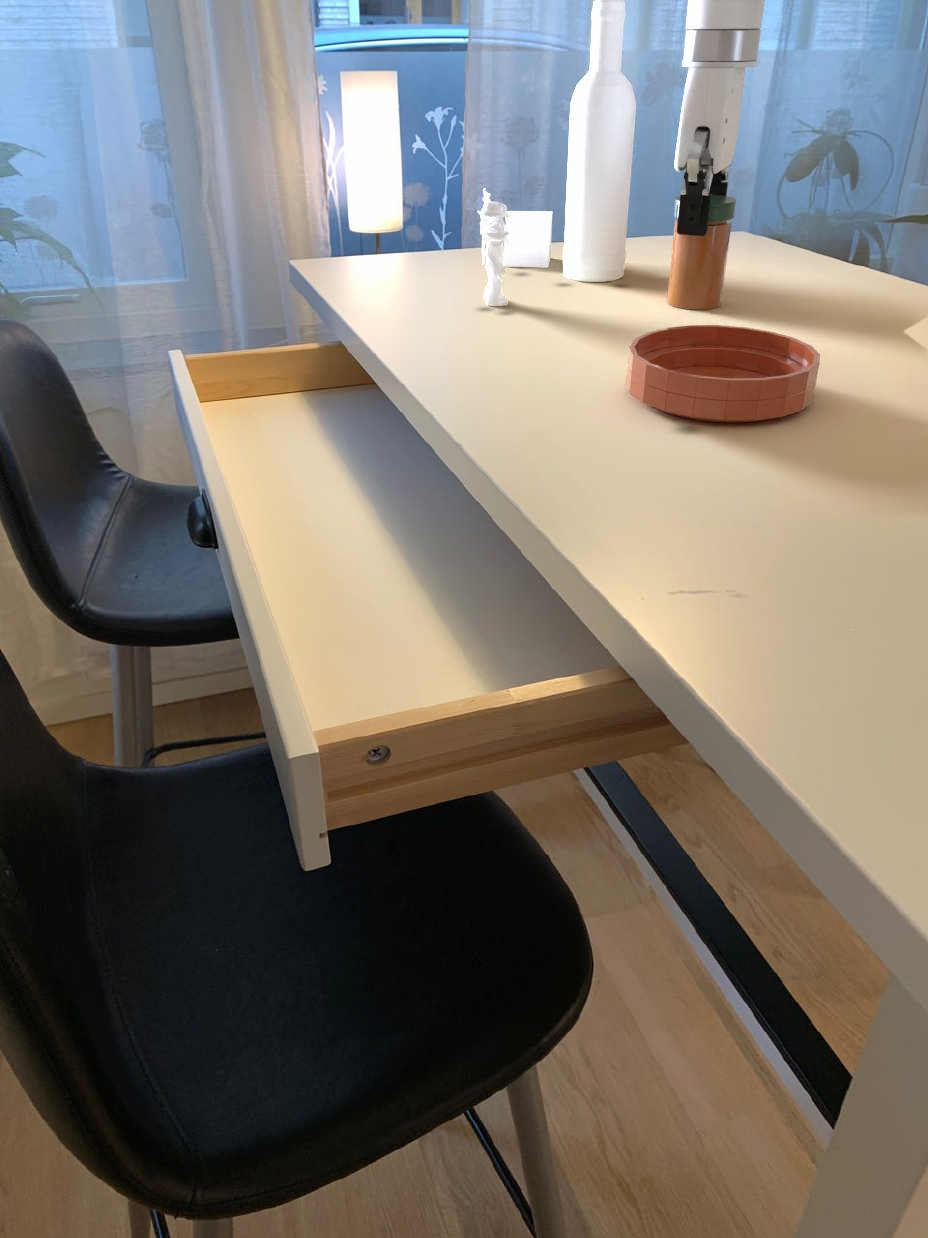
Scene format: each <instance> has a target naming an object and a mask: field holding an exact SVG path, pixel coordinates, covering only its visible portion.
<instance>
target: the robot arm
mask: <svg viewBox="0 0 928 1238" xmlns="http://www.w3.org/2000/svg"><path fill="white" fill-rule="evenodd" d="M765 2H766V0H688V2H687V10H686V11H687V13H686V21H685V23H686V24H685V32H684V42H683V53H682V62H681V67H684V68H688V72H687V76H686V82H685V86H684V92H683V98H682V104H681V105H682V106H681V111H680V118H679V126H678V134H677V141H676V148H675V155H674V163H673V165H674V166H673V167H674V169H675V171H676V172H677V173H682V172H684V171H685V172H684V174H683V180H682V184H681V189H680V203H679V213H678V223H677V233H678V234H680V235H694V236H704V235H706V234H707V230H708V221H709V213H710V204H711V195H722V196H728V195H727V193H728V186H729V182H728V177H729V165H731V164H732V162H733V160H734V157H735V152H736V146H737V140H738V135H739V134H738V133H739V127H740V118H741V111H742V103H743V92H744V88H745V87H744V86H745V85H744V83H745V74H746V68H756V67H757V63H758V56H759V49H760V48H759V47H760V40H761V32H762V25H763V18H764V10H765ZM708 194H710V195H708Z"/></svg>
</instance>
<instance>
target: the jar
mask: <svg viewBox="0 0 928 1238" xmlns="http://www.w3.org/2000/svg"><path fill="white" fill-rule="evenodd" d="M677 223H678V218H675V219H674V224H673V225H674V226H673V235H672V246H671V255H670V265H669V276H668V284H667V285H668V286H667V295H666V303H667V304H668V305H669V304H670V305H669V306H672V307H674V306H675V307H674V308H676V309H677V308H678V307H679V308H678V309H683V310H692V311H693V310H695V311H702V310H703V311H704V310H713V309H716V308H718V307H720V306H721V305H722V301H723V293H724V286H725V278H726V277H725V276H726V269H727V262H728V254H729V248H730V247H729V246H730V238H731V230H732V224H733V223H732V221H731V219H730V220H726V221H717V222H708V230H707V234H706V235H704V236H694V235H680V234H678V233H677ZM684 308H685V309H684Z"/></svg>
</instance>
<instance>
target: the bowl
mask: <svg viewBox="0 0 928 1238" xmlns="http://www.w3.org/2000/svg"><path fill="white" fill-rule="evenodd" d="M627 355H628V356H627V369H626V380H625V385H626V388H627V390H628V392H629V394H630V395H631V396H632V397H634V398H635V399H637V400H639V401H640V402H641V403H643V404H644V405H648V406H651V407H653V408H655V409H657V410H659V411H661V412H664V413H667V414H670V415H673V416H676V417H681V418H686V419H690V420H696V421H703V422H712V423H732V424H733V423H734V424H735V423H737V424H738V423H754V422H755V423H756V422H761V421H768V420H773V419H777V418H783V417H786V416H789V415H792V414H795V413H798V412H802V410H804V409H805V408H806V407H808V406H809V405H810V404H811V403H813V400H814V395H815V389H816V385H817V379H818V373H819V370H820V369H819V368H820V364H821V363H820V362H821V354H820V353H819V351H817V350H816V349H815V348H814V347H813V346H812V345H811V344H808V343H806V342H804V341H802V340H800V339H798V338H795V337H793V336H788V335H785V334H782V333H778V332H775V331H771V330H764V329H760V328H759V329H758V328H752V327H746V326H735V325H734V326H733V325H723V324H719V325H718V324H703V325H702V324H695V325H693V324H691V325H682V326H681V325H680V326H672V327H664V328H660V329H657V330H652V331H648V332H644V334H641V335H640V336H637V337H635V338H634V339H633V340H632V342H631V343H630V345H629V346H628V353H627Z"/></svg>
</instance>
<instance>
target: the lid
mask: <svg viewBox="0 0 928 1238" xmlns="http://www.w3.org/2000/svg"><path fill="white" fill-rule="evenodd" d="M708 195H710V194H708ZM679 203H680V196H676V197H675V200H674V208H673V209H674V210H673V217H674V218H675V219H677V218H678V213H679ZM736 203H737V199H736V198H735V197H732V196H728V195H726V196H722V195H711V204H710V213H709V221H708V222H717V221H726V220H730V221H731V220H733V219H734V218H735V213H736Z"/></svg>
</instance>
